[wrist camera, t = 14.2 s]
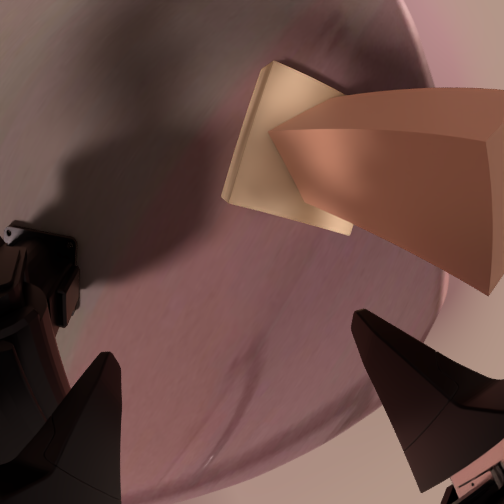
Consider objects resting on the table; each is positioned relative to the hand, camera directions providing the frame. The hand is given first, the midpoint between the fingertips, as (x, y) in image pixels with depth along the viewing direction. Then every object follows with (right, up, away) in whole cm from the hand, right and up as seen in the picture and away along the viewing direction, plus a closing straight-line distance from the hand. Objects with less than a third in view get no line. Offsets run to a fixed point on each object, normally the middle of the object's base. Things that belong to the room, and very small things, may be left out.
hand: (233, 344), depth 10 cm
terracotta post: (+5, +10, +9) cm, 14 cm away
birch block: (+4, +11, +12) cm, 17 cm away
